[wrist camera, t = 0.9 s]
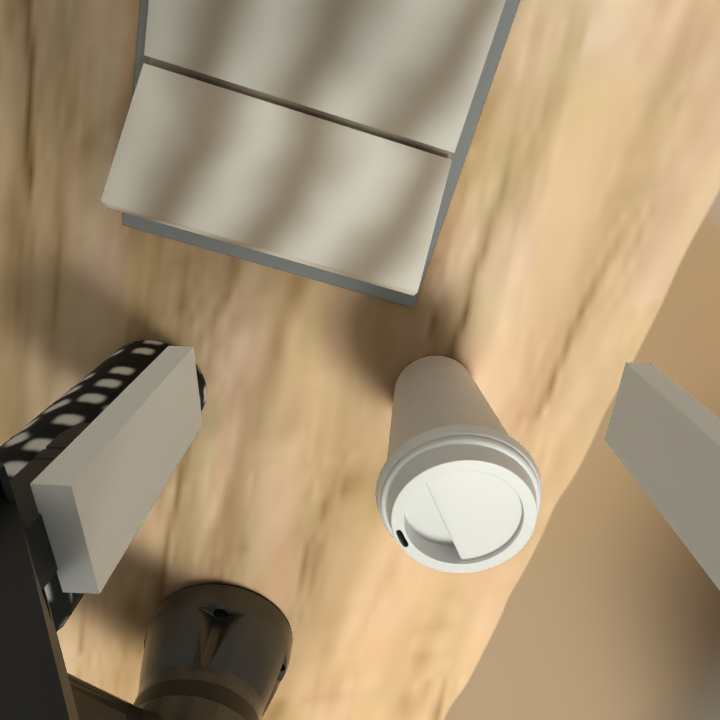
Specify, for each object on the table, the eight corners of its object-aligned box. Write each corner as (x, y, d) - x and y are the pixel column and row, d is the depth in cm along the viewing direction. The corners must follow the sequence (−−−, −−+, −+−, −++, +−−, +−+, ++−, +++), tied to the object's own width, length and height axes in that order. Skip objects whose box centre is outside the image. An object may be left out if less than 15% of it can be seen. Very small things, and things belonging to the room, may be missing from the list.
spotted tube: (206, 347, 40) (61, 525, 21) (206, 434, 43) (81, 652, 25) (102, 333, 39) (-135, 502, 21) (110, 422, 43) (-87, 633, 24)
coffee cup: (375, 337, 39) (374, 446, 25) (497, 336, 38) (565, 446, 25) (376, 440, 43) (376, 583, 29) (487, 440, 42) (541, 584, 29)
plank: (108, 208, 31) (100, 201, 30) (149, 75, 31) (143, 63, 30) (413, 295, 32) (417, 292, 31) (446, 167, 33) (451, 159, 32)
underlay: (124, 224, 36) (122, 224, 35) (155, -150, 27) (153, -153, 27) (413, 306, 38) (413, 307, 37) (526, -19, 29) (527, -21, 29)
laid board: (151, 66, 31) (143, 64, 30) (171, -146, 27) (162, -158, 26) (449, 160, 33) (451, 160, 32) (511, -26, 29) (516, -33, 28)
